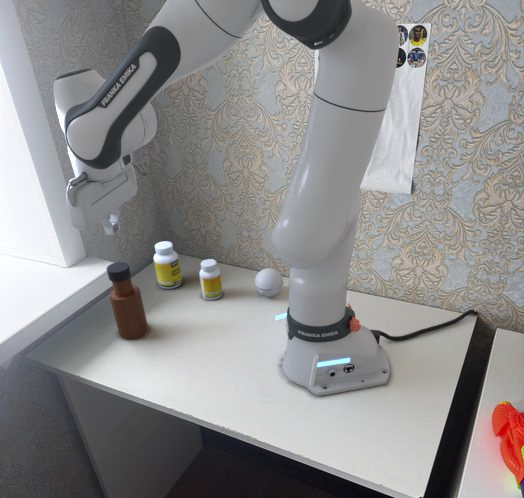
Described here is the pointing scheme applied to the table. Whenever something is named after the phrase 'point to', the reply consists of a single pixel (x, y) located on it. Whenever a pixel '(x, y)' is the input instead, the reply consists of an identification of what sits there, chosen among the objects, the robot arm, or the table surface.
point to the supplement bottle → (210, 280)
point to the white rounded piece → (269, 282)
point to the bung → (118, 272)
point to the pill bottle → (167, 265)
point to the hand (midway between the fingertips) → (113, 231)
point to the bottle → (128, 310)
